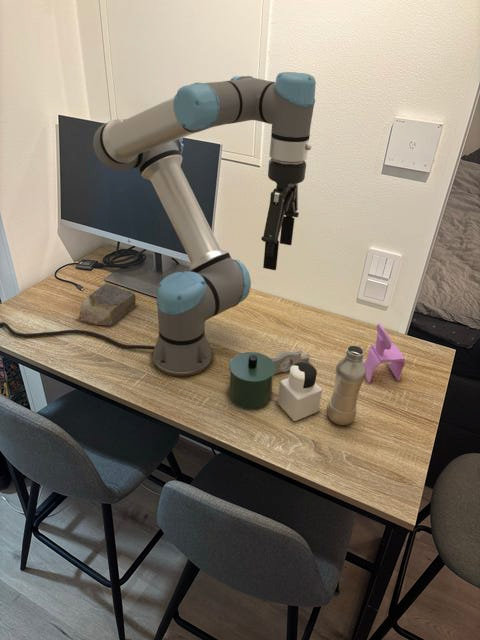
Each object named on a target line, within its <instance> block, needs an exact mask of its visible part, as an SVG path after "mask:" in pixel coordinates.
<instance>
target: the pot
mask: <svg viewBox="0 0 480 640" xmlns="http://www.w3.org/2000/svg"><path fill="white" fill-rule="evenodd" d="M229 373H230V374H229V399H230V400H231V401H232V403H233V404H235V406H238V407H239V408H242V409H246V410H256V409H261V408H263V407H265V406H266V405H267V404H268V403H269V402H270V400H271V397H272V390H273V381H274V375H273V376H272V377H271V378H270V379H268V380H266V381H264V382H259V383H249V382H244V381H241V380H239V379H237V378H236V377H234V376H233V375H232V373H231V372H229Z"/></svg>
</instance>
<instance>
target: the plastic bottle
mask: <svg viewBox="0 0 480 640" xmlns="http://www.w3.org/2000/svg"><path fill="white" fill-rule="evenodd" d="M364 355H365V350H364V349H363V348H362V347H361V346H359V345H354V344H352V345H348V346H347V347H346V350H345V354H344V357H343V358H341V359H340V360H339V361H338V362H337V364H336V365H335V366H336V367H335V381H334V387H333V392H332V394H331V397H330V399H329V401H328V404H327V406H326V415H327V417H328V418H329V420H330V421H331V422H332V423H333V424H336V425H338V426H339V425H340V426H347V425H349V424H352V422H353V421H354V419H355V418H356V416H357V403H358V397H359V393H360V390H361V387H362V385H363V383H364V382H365V379H366V377H365V376H366V367H365V365H364V363H365V362H363V361H364Z"/></svg>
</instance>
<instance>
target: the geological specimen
mask: <svg viewBox="0 0 480 640" xmlns="http://www.w3.org/2000/svg"><path fill="white" fill-rule="evenodd" d="M136 306H137V299H136V294H135V292H132V291H130V290H126V289H123V288H122V287H119V286H116V285H112V284H110V283H108V282H107V283H104V284H103V285H101V286H100V287H98V289H96V290H95V291H93V292H92V293H90V294H89V295H88V296H85V298H84V299H83V301H82V302H81V305H80V307H79V314H78V319H79V320H80V321H81V322H83V323H88V324H90V325H92V324H93V325H96V326H107V327H108V326H110V327H112V326H113V325H114V324H116V323H117V322H118V321H119V320H121V319H122V318H124V317H125V316H126V315H127V314H128V313H129V312H131V311H132V310H133V309H135V307H136Z"/></svg>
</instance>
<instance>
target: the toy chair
mask: <svg viewBox="0 0 480 640" xmlns="http://www.w3.org/2000/svg"><path fill="white" fill-rule="evenodd" d="M376 332H377V333H376V340H375V341H376V342H375V343H374V344H371V345H370V346H371V347H369V349H368V352H367V356H366V360H365V361H364V362H363V363H364V365H365V367H366V376H365V379H366V381H367V382H368V383H371V380H372V376H373V374H374V371H375V370H376V368H377V367H379V366H380V365H381V364H385V363H389V364H388V367H389V369H390V372H391V373H392V374H393V375H394V377H395V379H396V380H397V381H398V382H399V381H400V380H401V377H402V376H401V375H402V373H403V370H404V368H405V365H406V358H405V356H404V355H403V353H402V352H401V350H400V349H399V347H398V346H397V344H396V343H392V340H391V338H390V336H389V334H388V332H387V331H386V329H385V327H384V326H383V325H382V323H377V324H376Z"/></svg>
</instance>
